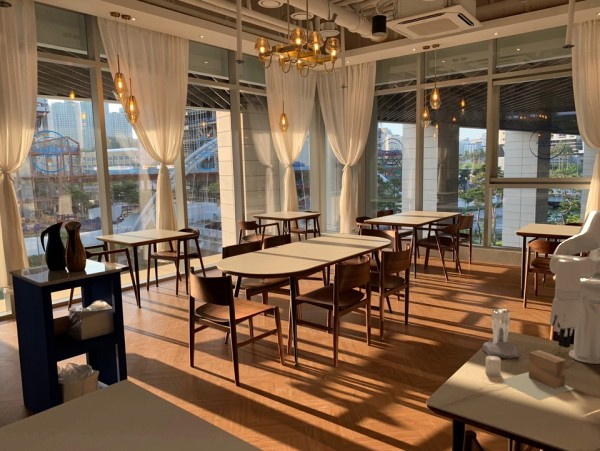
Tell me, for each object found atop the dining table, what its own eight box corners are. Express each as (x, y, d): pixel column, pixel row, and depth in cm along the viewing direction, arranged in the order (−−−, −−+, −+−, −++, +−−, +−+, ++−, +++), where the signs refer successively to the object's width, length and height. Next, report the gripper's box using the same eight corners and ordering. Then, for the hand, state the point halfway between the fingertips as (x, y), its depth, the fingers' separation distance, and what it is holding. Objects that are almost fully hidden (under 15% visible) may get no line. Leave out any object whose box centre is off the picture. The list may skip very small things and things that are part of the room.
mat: (531, 372, 171) (531, 371, 171) (574, 389, 156) (574, 388, 156) (498, 381, 164) (498, 380, 163) (539, 401, 149) (539, 400, 149)
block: (538, 374, 168) (539, 350, 167) (564, 385, 159) (565, 359, 158) (528, 377, 166) (529, 352, 165) (554, 388, 157) (555, 362, 156)
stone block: (520, 363, 183) (511, 349, 193) (520, 352, 182) (512, 339, 191) (488, 363, 185) (481, 349, 194) (489, 353, 183) (481, 339, 193)
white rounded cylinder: (492, 370, 173) (492, 354, 172) (503, 375, 168) (504, 359, 167) (482, 373, 170) (482, 357, 170) (493, 378, 166) (493, 362, 165)
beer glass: (496, 341, 202) (497, 307, 200) (512, 345, 197) (513, 310, 195) (487, 345, 197) (488, 310, 196) (503, 350, 192) (505, 314, 191)
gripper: (571, 290, 169) (568, 340, 171) (542, 294, 163) (540, 346, 165) (591, 295, 163) (588, 346, 164) (563, 299, 156) (560, 353, 158)
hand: (564, 346), depth 165 cm, fingers closed
